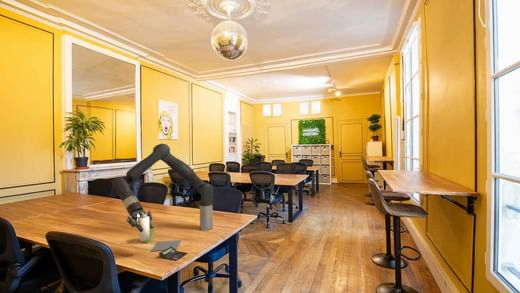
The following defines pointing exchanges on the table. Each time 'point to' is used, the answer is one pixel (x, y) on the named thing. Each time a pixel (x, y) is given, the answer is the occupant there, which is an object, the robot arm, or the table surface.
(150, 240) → the plant pot
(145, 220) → the bottle
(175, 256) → the calculator
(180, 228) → the table surface
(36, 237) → the table surface
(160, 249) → the mat
